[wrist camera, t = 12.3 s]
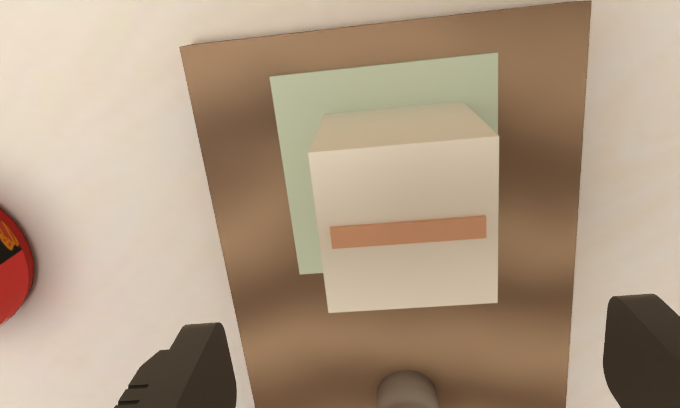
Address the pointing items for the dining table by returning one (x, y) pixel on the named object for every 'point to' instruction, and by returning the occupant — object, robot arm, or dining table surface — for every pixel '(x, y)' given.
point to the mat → (358, 95)
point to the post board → (409, 323)
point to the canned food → (13, 267)
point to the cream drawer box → (406, 207)
